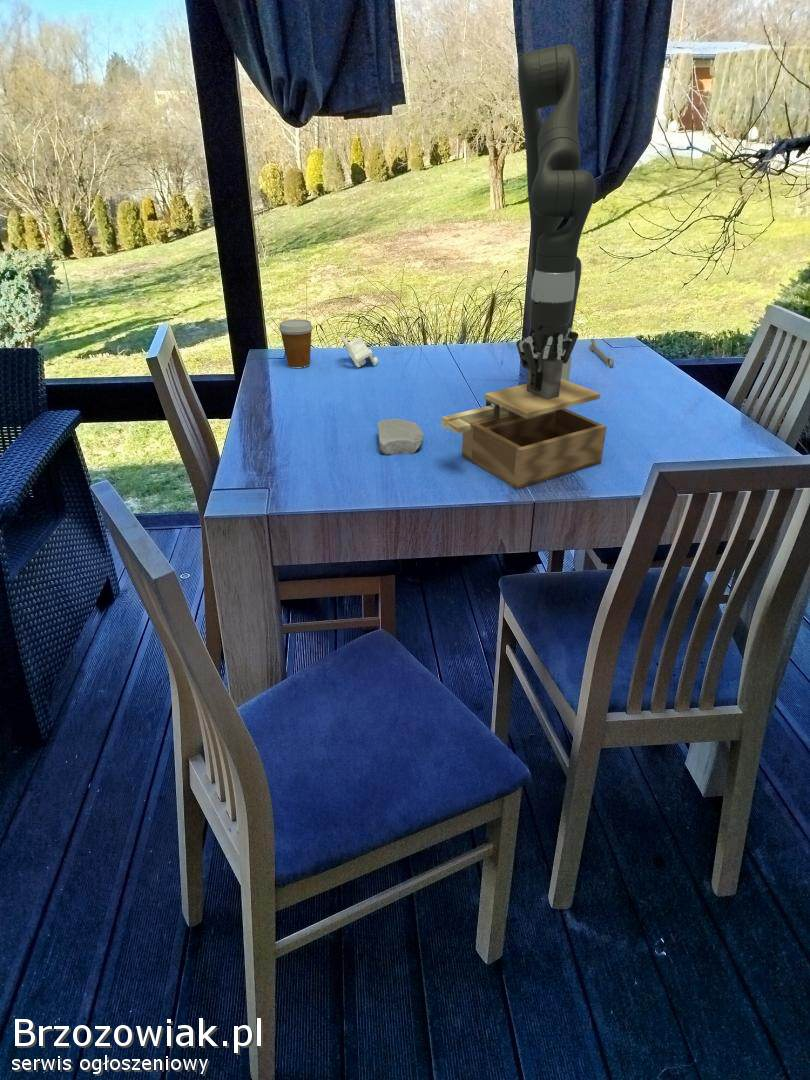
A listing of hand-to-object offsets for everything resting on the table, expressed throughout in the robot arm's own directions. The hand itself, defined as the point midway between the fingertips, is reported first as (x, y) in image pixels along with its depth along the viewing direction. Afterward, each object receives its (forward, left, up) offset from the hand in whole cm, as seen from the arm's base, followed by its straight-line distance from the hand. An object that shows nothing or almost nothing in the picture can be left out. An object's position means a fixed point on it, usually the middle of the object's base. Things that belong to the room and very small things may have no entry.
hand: (542, 387), depth 132 cm
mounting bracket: (-2, -79, -16) cm, 81 cm away
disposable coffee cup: (+14, -86, -16) cm, 89 cm away
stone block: (+19, -22, -16) cm, 33 cm away
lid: (0, 0, -2) cm, 2 cm away
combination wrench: (-65, -45, -16) cm, 80 cm away
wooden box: (0, -1, -16) cm, 16 cm away
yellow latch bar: (+8, -7, -8) cm, 13 cm away
